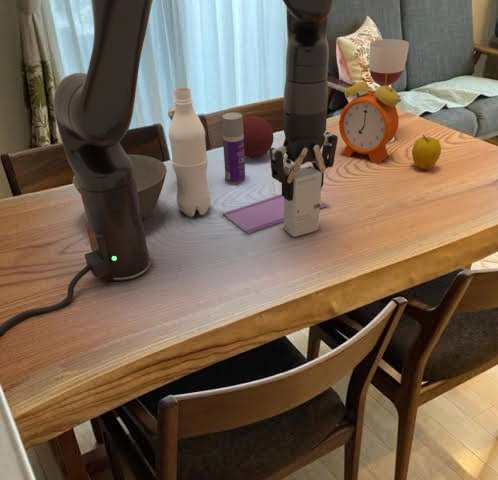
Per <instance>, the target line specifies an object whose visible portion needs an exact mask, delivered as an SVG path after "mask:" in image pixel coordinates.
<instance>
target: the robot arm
mask: <svg viewBox="0 0 498 480" xmlns="http://www.w3.org/2000/svg"><path fill="white" fill-rule="evenodd" d="M153 1H154V0H91V8H92V15H93V16H92V17H93V18H92V19H93V43H92V49H91V55H90V59H89V63H88V68H87V72H86V73H85V72H74V73H71V74H68V75H67V76H65V77H64V78H62V79H61V80H60V82H59V83H58V84H57V86H56V88H55V91H54V95H53V112H54V117H55V121H56V126H57V129H58V133H59V135H60V140H61V143H62V147H63V150H64V153H65V156H66V159H67V162H68V164H69V166H70V168H71V171H73V173H74V175H75V176H76V178H77V182H78V185H79V189H80V193H81V194H80V193H79V194H80V198H81V201H82V205H83V210H84V212H85V213H84V214H85V218H86V221H85V222H84V226H85V230H86V235H87V238H88V242H89V246H90V250H91V251H90V252H87V253H84V255H83V256H84V259H85V262H86V266H84V267H83V268H82V269H80V271H79V272H78V273H76V274H75V276H74V277H72V279H71V281H70V282H69V284H68V287H67V294H66V297H65V298H64V299H63V300H62V301H60V302H58V303H56V304H53V305H50V306H45V307H38V308H33V309H29V310H25V311H22V312H20V313H18V314H16V315H14V316H12V317H10V318H9V319H8V320H6V321H5V322H4V323H2V324H1V325H0V335H1V334H2V333H4V332H5V331H6V330H7V329H8V328H10V327H11V326H13V325H14V324H16V323H18V322H19V321H21V320H23V319H25V318H28V317H31V316H34V315H35V316H36V315H40V314H46V313H51V312H55V311H57V310H61V309H63V308H64V307H65V306H67V305H68V304H69V303H70V302H72V300H73V298H74V293H75V287H76V285H77V284H78V282H79V281H80V280H81V279H82V278H83V277H84V276H85V275H86V274H87V273H89V272H91V274H92V275H93V276H94V278H95V279H98V278H101V277H102V278H103V279H104V280H105V282H106V283H111V282H126V281H131V280H135V279H138V278H140V277H141V276H143V275H145V274H147V272H148V271H149V270H150V268H151V265H152V264H151V263H152V262H151V259H150V253H149V249H148V244H147V238H146V232H145V226H144V222H143V218H142V215H141V209H140V204H139V198H138V192H137V187H136V181H135V175H134V170H133V165H132V162H131V160H130V159H129V157H128V156H127V155H128V154H127V153H126V152H125V150H124V148H123V146H122V144H121V141H122V140H123V139H124V138H125V136H126V135H127V133H128V131H129V130H130V126H131V123H132V119H133V115H134V109H135V103H136V94H137V86H138V78H139V71H140V63H141V58H142V51H143V47H144V44H145V39H146V33H147V30H148V25H149V20H150V17H151V10H152V5H153ZM282 2H283V3H284V5H285V7H286V13H285V14H286V33H287V34H286V35H287V42H286V43H287V44H286V55H285V82H284V89H283V133H284V138H285V139H284V142H283V144H282V146H279V147H273V146H272V147H271V148H270V150H269V151H268V153H269V162H270V170H271V178H272V179H274V180H276V181H277V182H279V183H281V195H282V196H283V197H284V198H285V199H286V200H288V201H291V200H293V182H292V181H293V178H294V176H295V173H296V172H298V171H299V169H300V168H301V166H302V165H305V164H306V163H310V164H311V165H312V166H311V167H313V168H315V169H316V170H318V171H319V172H321V173H322V180H321V190H322V189H323V186H324V180H325V172H326V170H327V169H328V168H333V166H334V163H335V158H336V153H337V145H338V139H339V137H338V136H337V135H336V134H334V133H332V132H330V131H327V118H328V104H329V103H328V102H329V84H328V83H329V82H328V76H329V75H328V74H329V61H330V50H329V49H330V48H329V42H328V27H329V26H328V24H329V22H328V21H329V15H330V13H331V12H332V10H333V6H334V2H335V0H282ZM326 131H327V132H326ZM321 149H322V150H321ZM292 162H293V164H292ZM288 172H289V173H288ZM287 174H288V175H287Z"/></svg>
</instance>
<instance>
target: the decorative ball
mask: <svg viewBox="0 0 498 480" xmlns="http://www.w3.org/2000/svg"><path fill="white" fill-rule="evenodd" d="M242 119H243V134H244V158H248V159H259V158H262V157H263V156H265V155H266V154H268V153H269V150H270V149H271V148H272V147H273V143H274V132H273V128H272V126H271V125H270V124H269V122H268V121H267V120H265V119H264V118H263V117H260V116H254V115H251V116H247V117H245V118H242Z"/></svg>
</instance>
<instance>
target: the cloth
mask: <svg viewBox="0 0 498 480" xmlns="http://www.w3.org/2000/svg"><path fill="white" fill-rule="evenodd" d="M327 207H328V205H327V204H325V203H323V202H321V201H320V210H322V209H324V208H327ZM222 216H224V217H225V218H226V219H228V220H229V221H230V222H231V223H233V224H234V225H236V227H238V228H239V229H240V230H242V232H244V233H245V234H246V235H250V234H253V233H256V232H258V231H262V230H265V229H267V228H270V227H273V226H276V225H280V224H281V223H284V197H283V196H282V194H279V195H276V196H273V197H269V198H267V199H264V200H260V201H258V202H254V203H251V204H248V205H245V206H242V207H239V208H236V209H232V210H229V211H226V212H224V213H222Z"/></svg>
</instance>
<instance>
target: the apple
mask: <svg viewBox="0 0 498 480" xmlns="http://www.w3.org/2000/svg"><path fill="white" fill-rule="evenodd" d="M441 153H442V146H441V143H440V141H439V140H438V139H437V138H434V137H432V136H431V137H430V136H425V135H424V134H422V137H419V138H417V139H416V140H415V142H414V144H413V146H412V149H411V155H412V156H411V157H412V160H413V163H414V166H415V167H416V168H420V169H421V170H429V169H431V168H432V167H433V166H434V165H435V164H436V163H437V162H438V161H439V158H440V156H441Z"/></svg>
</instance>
